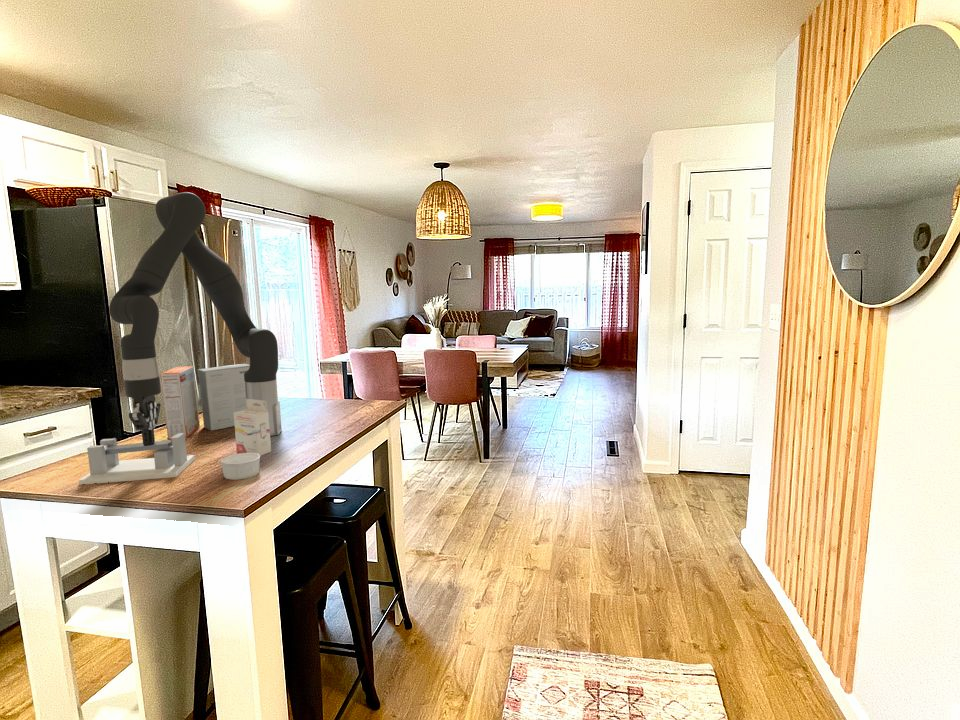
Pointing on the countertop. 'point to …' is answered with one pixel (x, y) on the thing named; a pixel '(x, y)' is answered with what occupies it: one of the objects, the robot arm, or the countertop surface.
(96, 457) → the base
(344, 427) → the countertop surface
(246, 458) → the ramekin
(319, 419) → the countertop surface
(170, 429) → the cracker box
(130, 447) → the clamp lever
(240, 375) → the hard drive box
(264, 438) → the ink cartridge box
